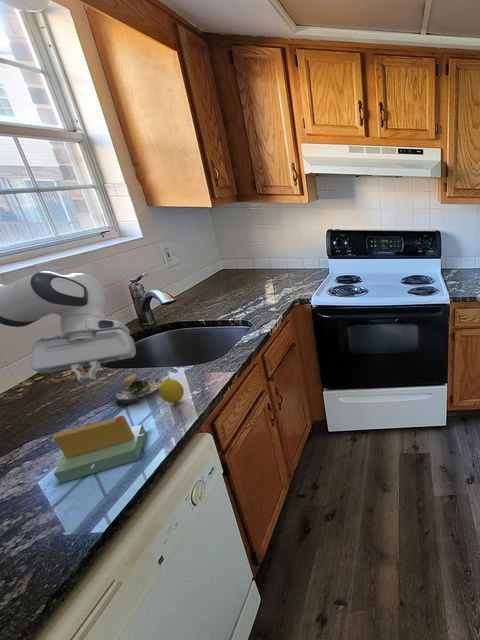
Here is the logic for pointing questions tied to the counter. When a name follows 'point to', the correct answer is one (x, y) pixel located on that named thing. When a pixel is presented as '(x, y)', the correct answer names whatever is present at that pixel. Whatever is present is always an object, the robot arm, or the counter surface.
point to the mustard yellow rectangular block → (94, 436)
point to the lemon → (171, 391)
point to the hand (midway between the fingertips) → (86, 380)
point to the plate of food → (136, 389)
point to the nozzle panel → (101, 457)
